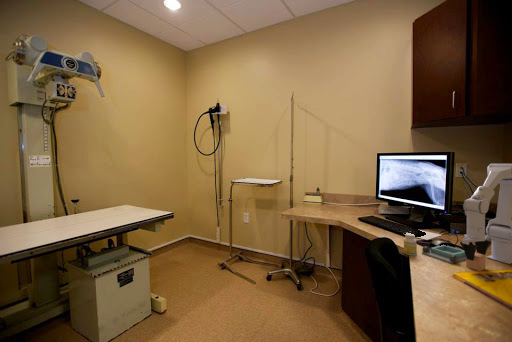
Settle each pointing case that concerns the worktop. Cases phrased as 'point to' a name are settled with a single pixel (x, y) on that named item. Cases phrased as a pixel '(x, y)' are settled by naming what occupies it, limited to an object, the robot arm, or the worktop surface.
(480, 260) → the block
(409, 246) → the supplement bottle
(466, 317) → the worktop surface
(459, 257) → the chassis
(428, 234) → the paper stack
